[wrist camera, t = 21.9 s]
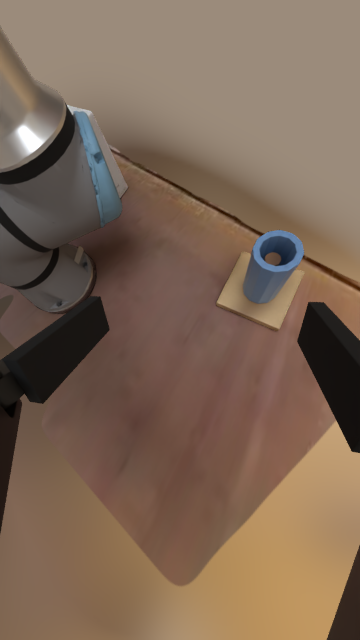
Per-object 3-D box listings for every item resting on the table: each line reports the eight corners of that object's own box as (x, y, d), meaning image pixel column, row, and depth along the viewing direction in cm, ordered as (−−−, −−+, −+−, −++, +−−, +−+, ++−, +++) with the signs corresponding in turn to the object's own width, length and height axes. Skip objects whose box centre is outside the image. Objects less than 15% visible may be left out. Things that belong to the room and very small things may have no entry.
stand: (216, 305, 37) (215, 279, 27) (241, 256, 38) (249, 213, 28) (276, 331, 34) (301, 312, 24) (301, 276, 35) (333, 236, 25)
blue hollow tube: (237, 295, 35) (245, 262, 24) (250, 268, 36) (264, 225, 25) (269, 308, 33) (292, 278, 23) (282, 280, 34) (310, 238, 24)
